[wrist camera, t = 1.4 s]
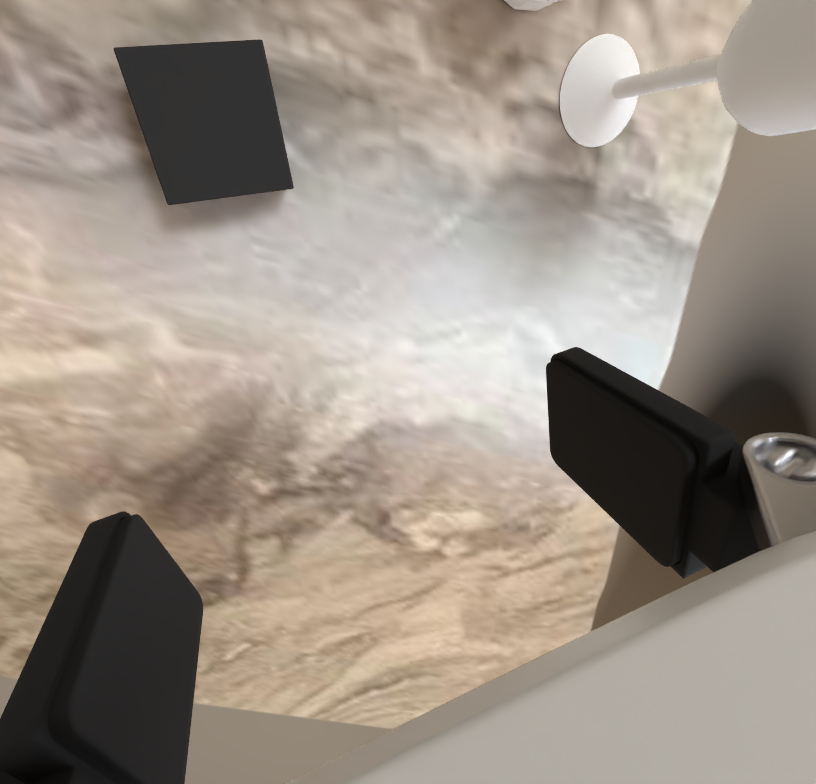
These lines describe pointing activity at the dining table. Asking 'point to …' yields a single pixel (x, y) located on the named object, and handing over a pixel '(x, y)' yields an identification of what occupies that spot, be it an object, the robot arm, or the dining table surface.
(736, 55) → the champagne flute
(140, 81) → the black pad
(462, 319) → the dining table surface
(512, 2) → the white cup
